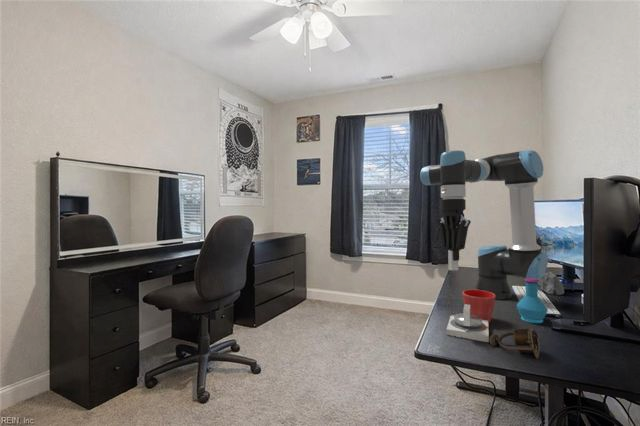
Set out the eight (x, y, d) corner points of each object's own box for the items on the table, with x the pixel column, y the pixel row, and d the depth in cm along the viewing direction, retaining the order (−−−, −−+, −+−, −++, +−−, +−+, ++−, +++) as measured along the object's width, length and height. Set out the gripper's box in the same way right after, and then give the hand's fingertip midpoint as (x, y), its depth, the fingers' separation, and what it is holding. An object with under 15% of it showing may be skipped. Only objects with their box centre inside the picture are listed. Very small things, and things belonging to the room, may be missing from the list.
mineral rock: (535, 287, 154) (535, 267, 154) (562, 290, 148) (561, 269, 148) (535, 293, 143) (535, 272, 143) (564, 296, 137) (564, 274, 137)
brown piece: (528, 344, 79) (549, 329, 83) (483, 323, 91) (504, 311, 95) (529, 368, 81) (550, 352, 85) (484, 344, 92) (505, 331, 96)
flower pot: (500, 325, 105) (500, 298, 105) (466, 323, 107) (466, 296, 107) (490, 315, 116) (489, 289, 115) (459, 313, 118) (459, 288, 118)
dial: (455, 317, 107) (455, 297, 107) (482, 321, 103) (482, 301, 103) (452, 329, 97) (451, 308, 96) (481, 334, 92) (481, 312, 92)
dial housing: (450, 320, 111) (450, 314, 111) (488, 326, 105) (488, 319, 105) (446, 335, 98) (446, 327, 98) (488, 342, 93) (488, 334, 92)
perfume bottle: (543, 317, 113) (543, 277, 112) (550, 326, 104) (550, 282, 104) (514, 313, 116) (514, 275, 116) (519, 322, 108) (518, 280, 108)
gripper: (430, 199, 105) (431, 267, 105) (457, 197, 92) (458, 274, 92) (448, 199, 107) (449, 265, 107) (477, 197, 94) (478, 273, 94)
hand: (453, 269), depth 100 cm, fingers closed
